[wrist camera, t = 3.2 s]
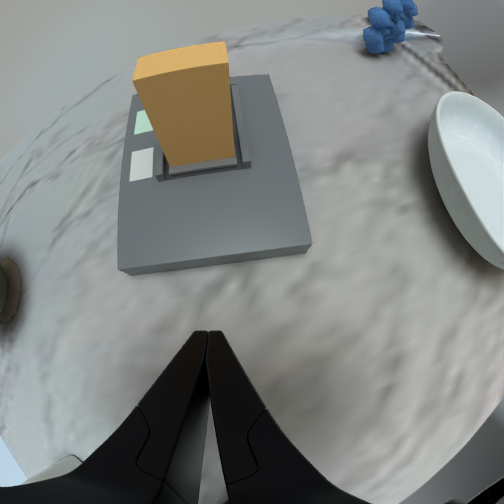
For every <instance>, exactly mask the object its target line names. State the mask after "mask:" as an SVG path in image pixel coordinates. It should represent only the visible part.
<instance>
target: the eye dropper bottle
mask: <svg viewBox="0 0 504 504" xmlns="http://www.w3.org/2000/svg"><path fill="white" fill-rule="evenodd" d="M80 464H82V462H81V461H79V460H78V459H77V458H76V457H75V456H68V457H66V458H64V459H62V460H61V461H59V462H57V463H56V464H54V465H52V466H51V467H49V468H47V469H46V470H44V471H42V472H40V473H39V474H37V475H35V476H33V477H32V478H30V479H28V480H26V481H25V482H24V483H23V484H28V483H33V482H38V481H42V480H46V479H50V478H54V477H58V476H62V475H64V474H67V473H69V472H71V471H72V470H74V469H75V468H77V467H78V466H79V465H80ZM23 484H22V485H23Z"/></svg>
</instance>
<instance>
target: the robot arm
mask: <svg viewBox="0 0 504 504" xmlns="http://www.w3.org/2000/svg"><path fill="white" fill-rule="evenodd" d="M210 400H211V407H212V414H213V420H214V426H215V432H216V438H217V444H218V449H219V455H220V460H221V465H222V471H223V475H224V480H225V485H226V490H227V494H228V499H229V500H228V501H226V502H225V503H224V504H371V503H369V502H367V501H364V500H362V499H360V498H357V497H355V496H353V495H351V494H349V493H347V492H344V491H343V490H341V489H339V488H338V487H336V486H335V485H333V484H332V483H331V482H330V481H328V480H327V479H326V478H325V477H324V476H323V475H322V474H321V473H320V472H319V471H318V470H317V469H316V468H315V467H314V466H313V465H312V464H311V463H310V462H309V461H308V460H307V459H306V458H305V457H304V456H303V455H302V454H301V453H300V451H299V450H298V449H297V448H296V447H295V446H294V445H293V444H292V443H291V441H290V440H289V439H288V438H287V437H286V435H285V434H284V433H283V432H282V430H281V429H280V427H279V426H278V424H277V423H276V422H275V420H274V419H273V417H272V416H271V414H270V412H269V411H268V409H266V406H265V405H264V403H263V401H262V400H261V398H260V396H259V395H258V393H257V391H256V390H255V388H254V386H253V385H252V383H251V381H250V380H249V378H248V376H247V375H246V373H245V371H244V369H243V368H242V366H241V364H240V362H239V361H238V359H237V357H236V355H235V354H234V352H233V350H232V348H231V346H230V345H229V343H228V341H227V339H226V337H225V336H224V334H223V332H222V331H209V332H208V331H194V332H193V333H192V335H191V336H190V337H189V339H188V340H187V341H186V343H185V344H184V345H183V346H182V348H181V349H180V350H179V352H178V353H177V354H176V355H175V357H174V358H173V359H172V361H171V362H170V363H169V364H168V366H167V367H166V368H165V370H164V371H163V372H162V374H161V375H160V376H159V377H158V379H157V380H156V381H155V383H154V384H153V385H152V386H151V388H150V389H149V390H148V392H147V393H146V394H145V395H144V397H143V398H142V399H141V401H140V402H139V403H138V406H139V407H138V406H136V407H135V408H134V409H133V411H132V412H131V413H130V414H129V416H128V417H127V418H126V419H125V420H124V422H123V423H122V424H121V425H120V426H119V427H118V429H117V430H116V431H115V432H114V433H113V434H112V435H111V436H110V437H109V438H108V439H107V440H106V441H105V442H104V443H103V444H102V445H101V446H100V447H99V448H97V449H96V450H95V451H94V452H93V453H92V454H91V455H90V456H89V457H88V458H87V459H86V460H85V461H84V462H83V463H82V464H80V465H79V466H78V467H77V468H75V469H74V470H72V471H71V472H69V473H67V474H64V475H62V476H58V477H54V478H50V479H46V480H42V481H38V482H33V483H28V484H23V485H18V486H12V487H0V504H198V500H199V490H200V481H201V472H202V463H203V454H204V445H205V437H206V429H207V421H208V413H209V405H210ZM440 504H504V476H502V477H501V478H499V479H498V480H496V481H495V482H494V483H492V484H491V485H489V486H488V487H487V488H485V489H484V490H482V491H481V492H480V493H478V494H477V495H475V496H474V497H473V498H471V499H470V500H468V501H467V502H463V501H461V500H459V499H456V498H450V499H448V500H446V501H444V502H442V503H440Z"/></svg>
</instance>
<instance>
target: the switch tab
mask: <svg viewBox="0 0 504 504" xmlns="http://www.w3.org/2000/svg"><path fill="white" fill-rule="evenodd" d="M132 81H133V84H134V86H135V89H136V91H137V93H138V96H139V98H140V100H141V103H142V105H143V107H144V110H145V112H146V114H147V117H148V119H149V121H150V123H151V126H152V128H153V130H154V132H155V135H156V137H157V139H158V141H159V144H160V146H161V148H162V150H163V152H164V155H165V157H166V159H167V161H168V163H169V175H170V176H171V175H177V174H183V173H189V172H195V171H202V170H209V169H216V168H223V167H231V166H237V158H236V151H235V144H234V136H233V122H232V108H231V93H230V78H229V63H228V57H227V50H226V44H225V41H224V42H215V43H208V44H201V45H194V46H188V47H183V48H177V49H172V50H168V51H163V52H159V53H154V54H150V55H146V56H143V57H139V58H138V61H137V65H136V68H135V72H134V76H133V80H132Z"/></svg>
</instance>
